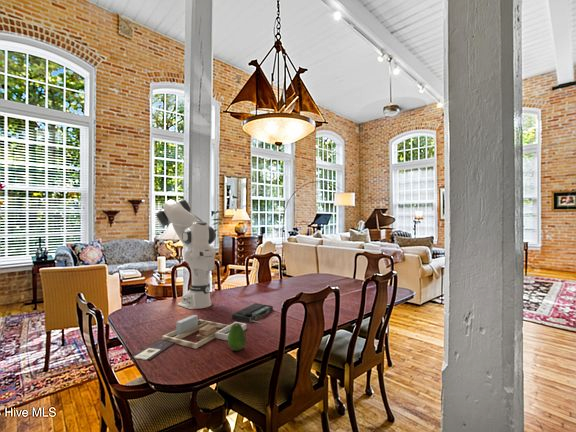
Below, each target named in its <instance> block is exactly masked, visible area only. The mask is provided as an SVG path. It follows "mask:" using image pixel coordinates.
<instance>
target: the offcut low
mask: <svg viewBox="0 0 576 432" xmlns="http://www.w3.org/2000/svg"><path fill="white" fill-rule="evenodd" d="M217 331H219V330H218V329H216V331H214V332H213V333H215V332H217ZM213 333H211V334H209V335H208V336H210V335H212V334H213ZM195 336H196V337H195V340H196V341H200V340H202V339H204V338H206V337H208V336H205V335H199V333H198V334H196V335H195Z"/></svg>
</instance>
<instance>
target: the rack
mask: <svg viewBox="0 0 576 432" xmlns="http://www.w3.org/2000/svg"><path fill="white" fill-rule="evenodd" d="M206 325H214V326H216V328H219V329H223V328H225V327H227V326H229V325H230V324H225V323H220V322H215V321H209V320H206V319H201V318H200V319H198V326H196V327H194V328H192V329H190V330H188V331H186V332H184V333H181V334H179V335H177V336H176V329H175V330H173V331H170V332H168V333H166V334H164V335H161V340H166V341H171V342H175V344H176V345H178V346H179V345H180V346H183V347H187V348H192V349H196V350H197V349H198V348H199V347H201V346H203V345H205V344H207V343H209V342H210V341H212V340H215V339H216V338H215V333H216V332H215V333H213V334H212V335H210V336H208V337H206V338H204V339H202V340H198V341H197V342H193V341H188V340H186V339H184V338H186V337H188V336H190V335H192V334H194V333H196V332H199V329H201V328H203V327H204V326H206ZM218 331H219V330H218ZM218 331H217V332H218ZM175 344H174V345H175Z"/></svg>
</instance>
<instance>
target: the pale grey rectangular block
mask: <svg viewBox="0 0 576 432" xmlns="http://www.w3.org/2000/svg"><path fill="white" fill-rule="evenodd" d="M198 317H199V315H198V314H197V315H196V314H192V315H189V316H187V317H185V318H182V319H180V320H177V321H176V323H175V327H176V328H175V330H176V335H175V336H177V335H179V334H181V333H184V332H186V331H188V330H190V329H192V328H194V327H196V326H198V325H199V324H198V320H199V319H198Z"/></svg>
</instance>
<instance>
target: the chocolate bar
mask: <svg viewBox="0 0 576 432" xmlns="http://www.w3.org/2000/svg"><path fill="white" fill-rule="evenodd" d="M174 345H175V342H171V341H166V340H162V339H158V340H156V341H155V342H152V343H151V344H150V345H148V346H146V347H145V348H143V349H142V350H140V351H138V352H136V353H135V354H133V355H132V356H131V359H137V360H143V361H151V360H153V359H154V358H156V357H158V356H159V355H160V354H161V353H163V352H164V351H167V350H168V349H169V348H171V346H174Z"/></svg>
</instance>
